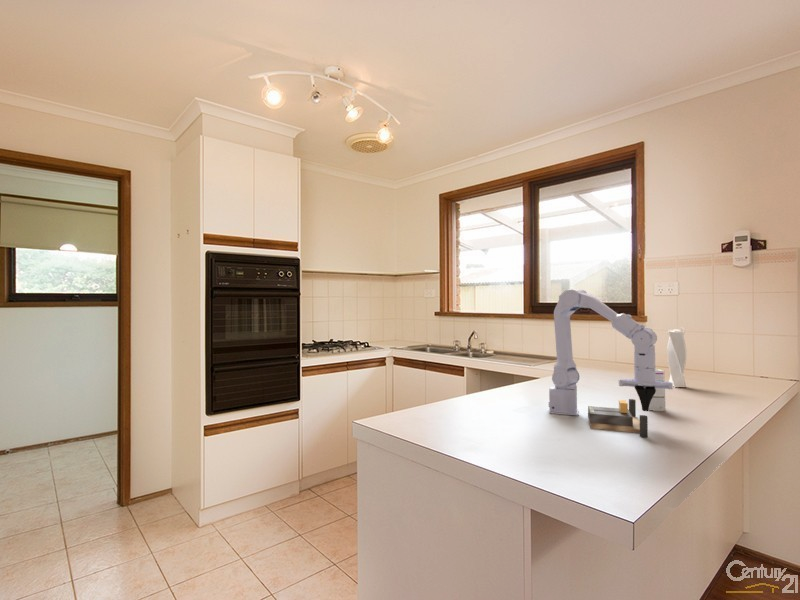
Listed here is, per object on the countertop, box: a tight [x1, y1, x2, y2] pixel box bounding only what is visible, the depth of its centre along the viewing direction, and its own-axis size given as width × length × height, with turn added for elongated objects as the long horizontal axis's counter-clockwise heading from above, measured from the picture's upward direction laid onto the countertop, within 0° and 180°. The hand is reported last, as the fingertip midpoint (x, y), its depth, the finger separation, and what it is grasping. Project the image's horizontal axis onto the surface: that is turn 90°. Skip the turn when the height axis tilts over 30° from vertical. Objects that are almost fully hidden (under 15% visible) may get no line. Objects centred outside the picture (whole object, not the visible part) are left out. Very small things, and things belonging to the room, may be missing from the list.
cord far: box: [628, 398, 637, 417], centre depth 142 cm, size 2×2×6 cm
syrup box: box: [648, 368, 667, 412], centre depth 152 cm, size 6×6×14 cm
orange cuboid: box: [618, 399, 629, 413], centre depth 133 cm, size 2×4×3 cm, turn 158°
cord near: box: [639, 414, 649, 439], centre depth 121 cm, size 2×2×6 cm
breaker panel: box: [587, 405, 640, 434], centre depth 134 cm, size 15×15×4 cm
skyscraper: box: [666, 326, 687, 388], centre depth 192 cm, size 8×8×28 cm
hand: (645, 410), depth 131 cm, fingers closed
